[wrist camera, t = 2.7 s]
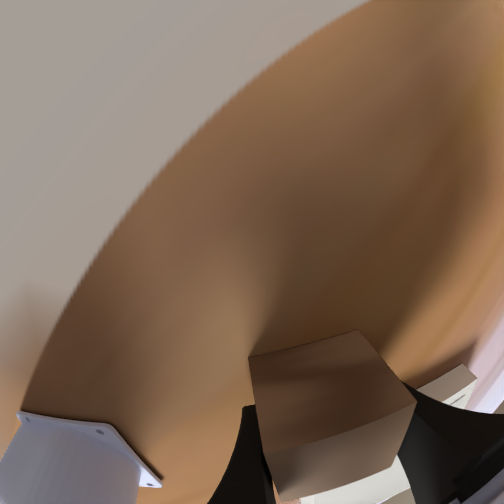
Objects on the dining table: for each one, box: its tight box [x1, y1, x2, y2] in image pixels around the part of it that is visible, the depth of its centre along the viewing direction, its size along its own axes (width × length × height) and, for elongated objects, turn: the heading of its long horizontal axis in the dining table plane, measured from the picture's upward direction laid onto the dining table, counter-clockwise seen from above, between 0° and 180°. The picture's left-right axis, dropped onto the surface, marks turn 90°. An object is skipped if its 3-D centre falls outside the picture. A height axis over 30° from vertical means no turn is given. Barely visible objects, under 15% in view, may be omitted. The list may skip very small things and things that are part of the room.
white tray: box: [299, 364, 478, 504], centre depth 14 cm, size 13×18×2 cm
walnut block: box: [248, 330, 417, 502], centre depth 9 cm, size 5×5×5 cm
